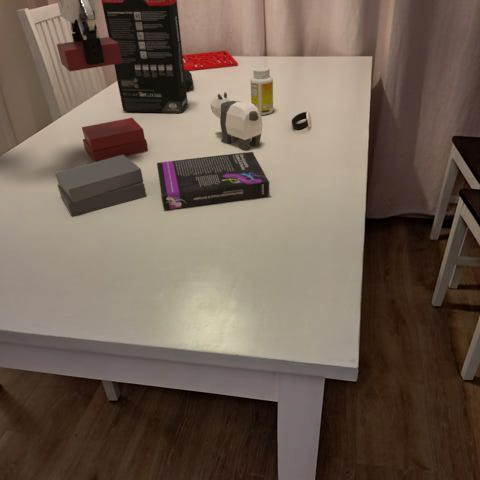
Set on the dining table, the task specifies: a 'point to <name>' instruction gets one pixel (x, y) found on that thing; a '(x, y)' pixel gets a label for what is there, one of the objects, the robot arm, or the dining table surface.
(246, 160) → the box
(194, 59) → the maze puzzle
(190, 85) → the carrying case
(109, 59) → the dark red rectangular block
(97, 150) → the burgundy book pile
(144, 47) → the graphics card box
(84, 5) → the robot arm
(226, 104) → the giant panda
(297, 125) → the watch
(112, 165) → the grey book pile
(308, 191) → the dining table surface
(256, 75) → the supplement bottle
